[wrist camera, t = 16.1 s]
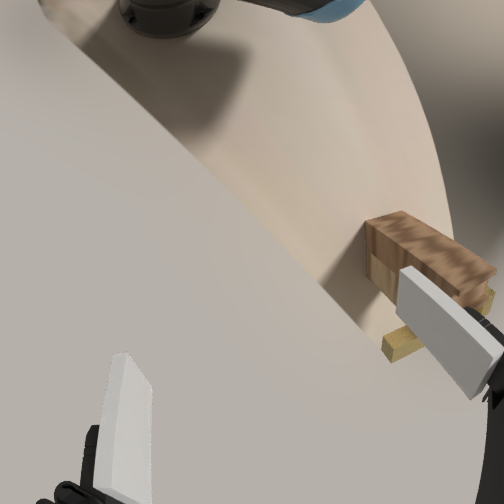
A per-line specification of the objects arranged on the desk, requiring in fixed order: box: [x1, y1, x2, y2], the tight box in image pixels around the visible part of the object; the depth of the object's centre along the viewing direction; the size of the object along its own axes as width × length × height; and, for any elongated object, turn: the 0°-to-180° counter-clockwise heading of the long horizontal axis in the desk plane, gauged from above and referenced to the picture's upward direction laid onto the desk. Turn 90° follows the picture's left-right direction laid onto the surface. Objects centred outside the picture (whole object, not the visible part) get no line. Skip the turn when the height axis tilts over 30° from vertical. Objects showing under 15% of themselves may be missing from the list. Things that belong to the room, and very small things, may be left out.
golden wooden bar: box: [381, 286, 495, 363], centre depth 37 cm, size 22×4×4 cm, turn 102°
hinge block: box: [365, 211, 497, 310], centre depth 43 cm, size 9×12×25 cm
